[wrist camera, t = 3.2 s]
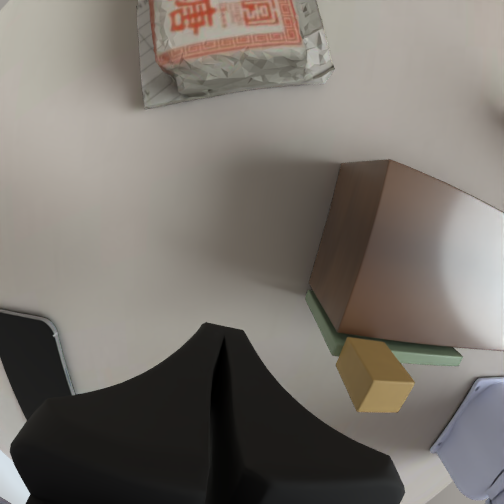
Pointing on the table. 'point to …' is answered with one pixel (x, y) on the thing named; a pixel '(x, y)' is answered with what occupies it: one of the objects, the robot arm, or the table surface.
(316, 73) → the packaged product
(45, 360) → the smartphone
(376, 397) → the sliding door
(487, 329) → the cupboard
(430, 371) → the table surface
